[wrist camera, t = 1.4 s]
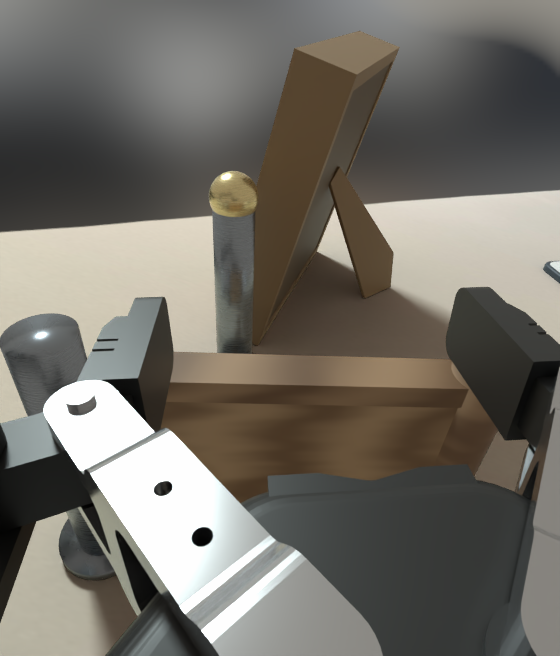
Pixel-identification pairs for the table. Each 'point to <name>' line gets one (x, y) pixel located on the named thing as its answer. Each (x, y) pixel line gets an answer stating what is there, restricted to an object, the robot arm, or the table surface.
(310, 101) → the photo frame
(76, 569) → the hinge post
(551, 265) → the smartphone
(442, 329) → the table surface
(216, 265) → the post
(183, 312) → the table surface
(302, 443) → the gate
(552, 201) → the table surface
